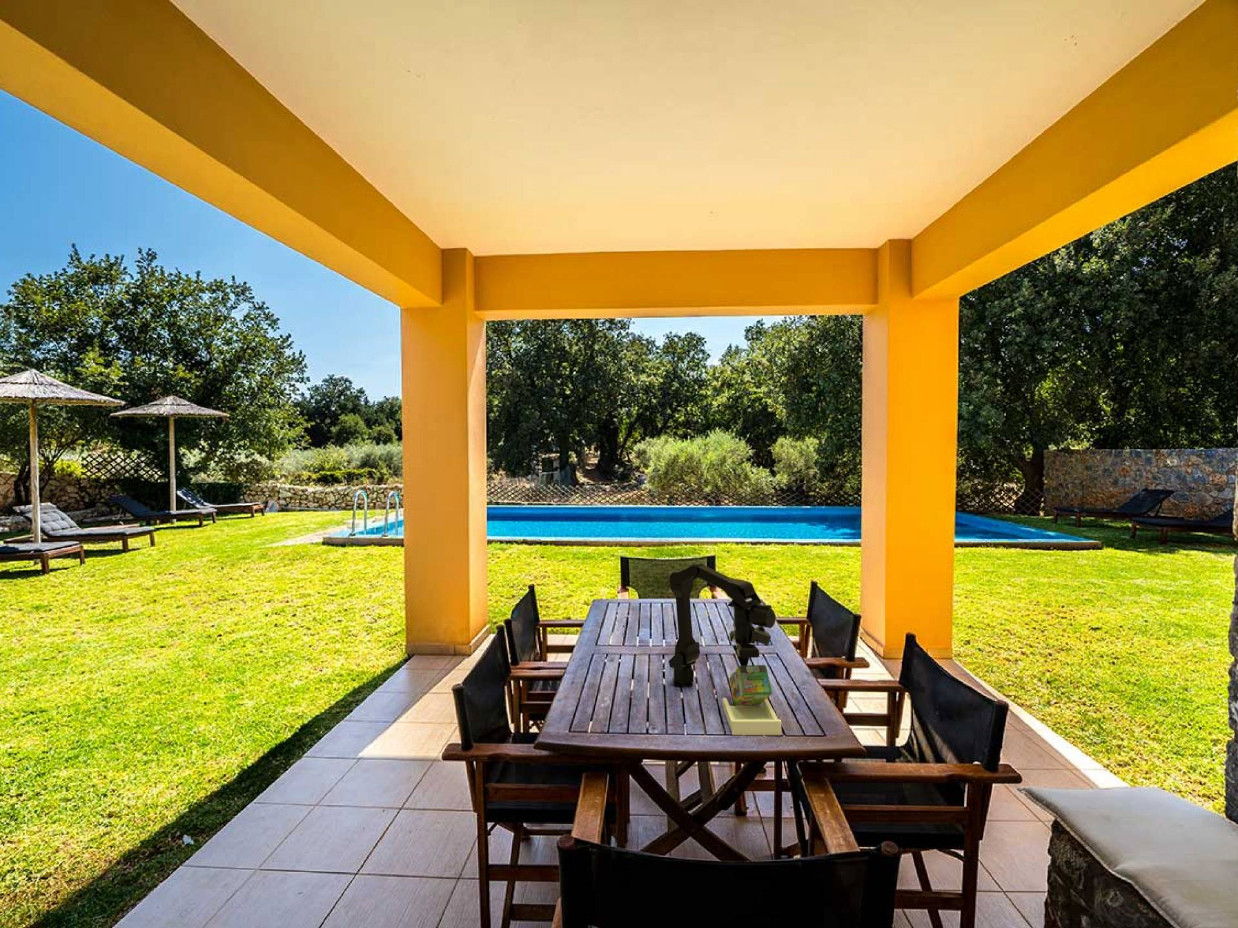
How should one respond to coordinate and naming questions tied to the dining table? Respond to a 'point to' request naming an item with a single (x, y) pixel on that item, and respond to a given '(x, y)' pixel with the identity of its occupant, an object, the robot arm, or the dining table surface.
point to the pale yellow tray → (752, 719)
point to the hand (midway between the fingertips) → (744, 670)
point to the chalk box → (750, 685)
